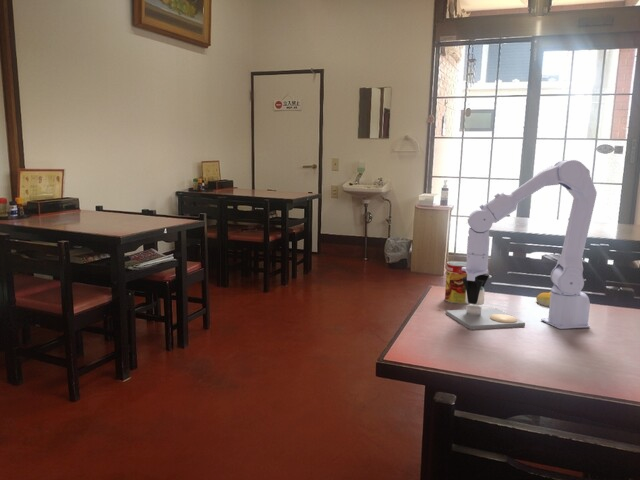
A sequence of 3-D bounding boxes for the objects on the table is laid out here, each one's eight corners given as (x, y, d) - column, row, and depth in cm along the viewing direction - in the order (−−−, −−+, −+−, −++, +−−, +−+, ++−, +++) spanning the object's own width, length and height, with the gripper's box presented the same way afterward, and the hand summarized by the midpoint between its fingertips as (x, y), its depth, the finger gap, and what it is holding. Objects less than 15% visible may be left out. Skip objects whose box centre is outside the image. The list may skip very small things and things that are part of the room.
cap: (486, 302, 139) (487, 285, 139) (479, 306, 136) (480, 289, 135) (469, 299, 143) (470, 282, 142) (462, 302, 139) (463, 286, 138)
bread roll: (530, 302, 157) (531, 289, 157) (553, 300, 160) (554, 288, 160) (549, 309, 150) (551, 296, 149) (573, 307, 152) (574, 294, 152)
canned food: (446, 296, 162) (448, 260, 160) (471, 298, 159) (473, 262, 158) (443, 302, 155) (445, 264, 153) (469, 304, 152) (472, 266, 150)
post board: (495, 311, 146) (496, 301, 145) (524, 326, 132) (525, 315, 132) (445, 313, 142) (446, 303, 142) (470, 329, 129) (471, 318, 128)
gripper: (468, 248, 145) (466, 293, 147) (456, 255, 133) (453, 304, 135) (493, 250, 142) (490, 296, 144) (483, 258, 129) (480, 308, 131)
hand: (474, 301), depth 139 cm, fingers closed on cap, 5 cm apart
